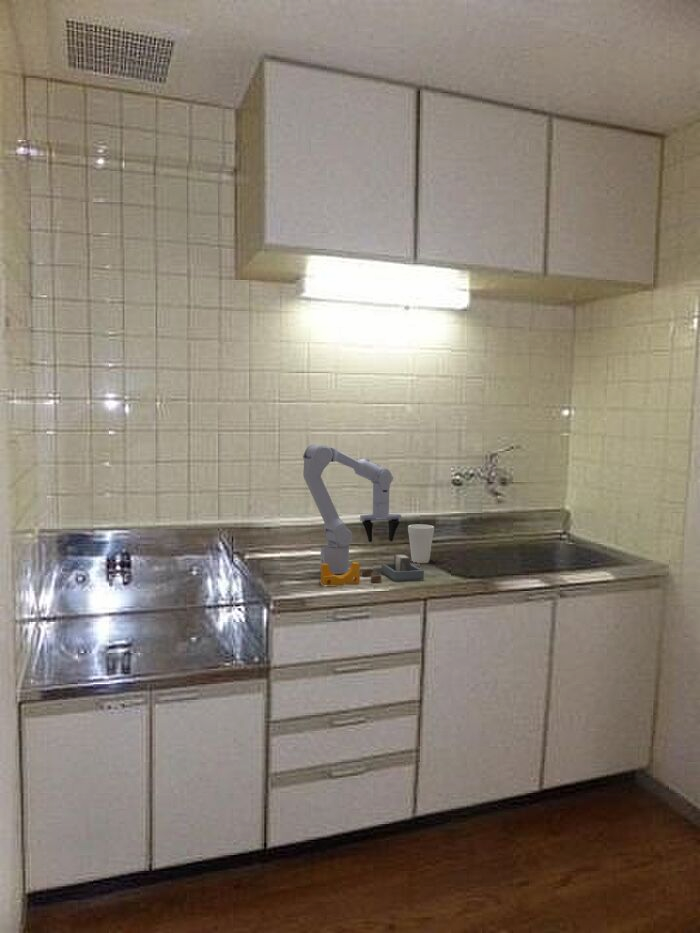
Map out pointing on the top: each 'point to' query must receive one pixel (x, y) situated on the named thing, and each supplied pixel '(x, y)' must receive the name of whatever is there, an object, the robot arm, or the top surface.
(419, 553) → the foam cup
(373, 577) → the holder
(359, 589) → the top surface
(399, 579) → the parts tray
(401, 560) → the grey block
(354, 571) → the pipe clamp
